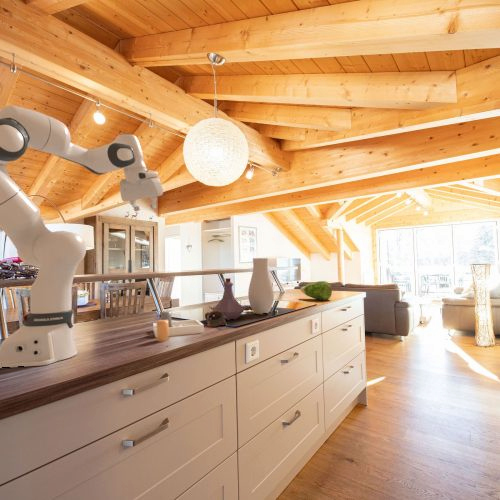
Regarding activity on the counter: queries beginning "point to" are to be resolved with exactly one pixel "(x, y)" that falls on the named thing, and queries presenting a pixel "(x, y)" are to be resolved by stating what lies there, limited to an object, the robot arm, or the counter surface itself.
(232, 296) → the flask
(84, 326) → the counter surface
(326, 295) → the lettuce
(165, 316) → the charcoal jaw peg
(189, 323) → the housing
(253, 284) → the vase
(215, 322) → the pottery mug
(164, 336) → the orange cylinder
